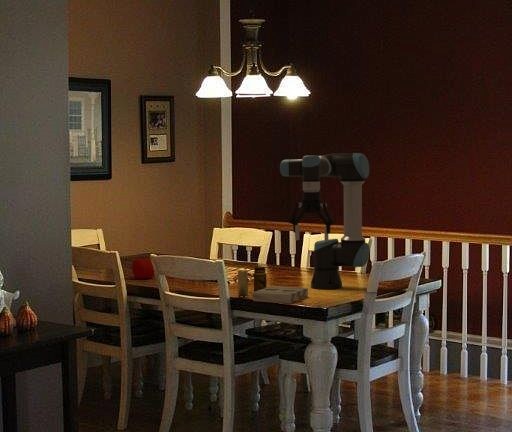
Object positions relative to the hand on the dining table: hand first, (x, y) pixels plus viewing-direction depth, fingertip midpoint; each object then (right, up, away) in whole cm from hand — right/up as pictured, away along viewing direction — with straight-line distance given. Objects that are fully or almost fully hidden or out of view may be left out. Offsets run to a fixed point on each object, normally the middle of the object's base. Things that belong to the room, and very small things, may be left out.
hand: (311, 240), depth 429 cm
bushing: (-30, -26, +27) cm, 48 cm away
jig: (-13, -27, +19) cm, 35 cm away
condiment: (-23, -26, +39) cm, 52 cm away
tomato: (-82, -22, +91) cm, 124 cm away
